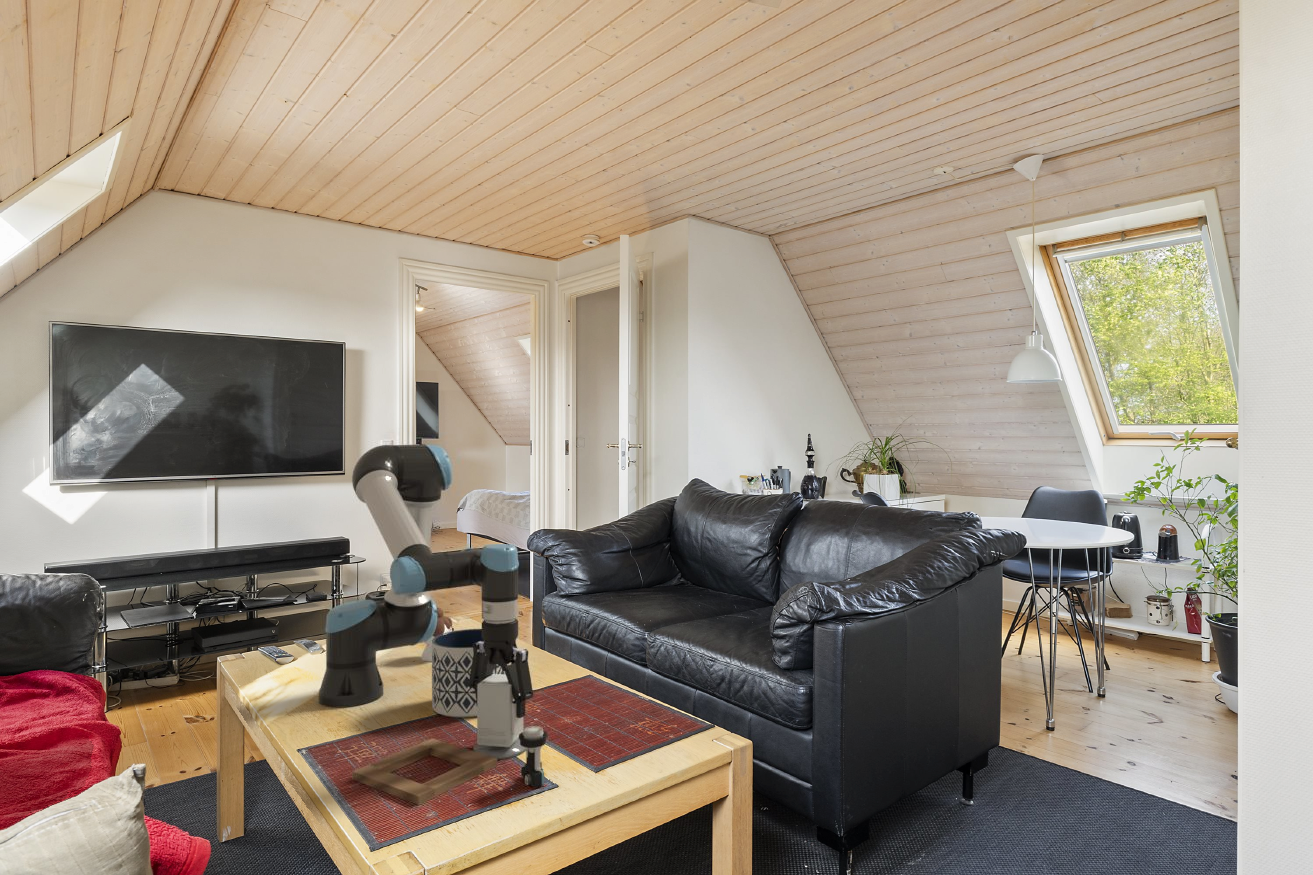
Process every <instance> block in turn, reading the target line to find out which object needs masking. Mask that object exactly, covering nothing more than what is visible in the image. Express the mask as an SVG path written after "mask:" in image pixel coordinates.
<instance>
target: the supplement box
mask: <svg viewBox="0 0 1313 875" xmlns="http://www.w3.org/2000/svg"><path fill="white" fill-rule="evenodd" d="M519 695H520V693H519ZM513 701H515V700H514V697H513V694H512V685H511V684H509V683H508V680H507V677H506V675H505V674H492V675H491V676H489V677H487V678H485V679H484V680H483V681H481V682H480V683H479V684H478V685H477V717H476V719H477V720H476V723H477V724H476V725H477V726H476V727H477V728H476V732H477V733H476V734H477V735H476V736H477V737H476V738H477V739H476V741H477V742H476V744H478V745H487V746H499V747H510V746H511V745H512V743H513V742H514V741H515V740H516V739H517V738H518V737H519V734H520V733H522V732H523V731H522V732H519V733H517V734H515V735H513V734H512V732H511V702H513Z"/></svg>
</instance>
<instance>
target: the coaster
mask: <svg viewBox="0 0 1313 875" xmlns="http://www.w3.org/2000/svg"><path fill="white" fill-rule="evenodd" d="M473 751H475V752H478V753H481V754H484V755H488V756H491V757H494V758H497V761H498V760H499V761H500V760H507V759H511V758H515V757H518V756H521V755H522V754H524V753H526V748H525V747H523V746H521V745H520V740H519V737H518V738H517V739H516V740H515V741H514V742H513V743H512V745H511V746H510V747H499V746H487V745H478V744H477V743H475V745H474V746H473Z"/></svg>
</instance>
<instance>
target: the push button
mask: <svg viewBox="0 0 1313 875" xmlns="http://www.w3.org/2000/svg"><path fill="white" fill-rule="evenodd" d="M548 734H549V733H548V732H547V731H545V730H544V729H543V727H542V726H538V725H536V726H535V725H530V726H527V727H525V728H523V731H522V733H520V734H519V740H520V745H521V746H523V747H525V748H526V751H525V764H524V766H522V767H520V768H519V770H520V771H521V772H520V773H519V775H520V776H522V780H523V782H524V784H525V785H526V786H529V785H530V786H531V788H532V789H537V788H540V787H543V786H544V785H545V772H544V769H543V767H542V766H543V765H542V761H541V748H542V747H543V746H545V745H546V743H547V738H548V736H549V735H548Z"/></svg>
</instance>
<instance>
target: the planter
mask: <svg viewBox="0 0 1313 875" xmlns="http://www.w3.org/2000/svg"><path fill="white" fill-rule="evenodd" d="M480 641H484V640H483V639H482V628H470V629H469V628H467V629H459V630H458V629H457V630H452V632H448V633H444V634H441V635H438V636H437V637H435V638H434V639H433V640H432V662H431V706H432V710H433V711H435V712H436V713H437V714H438V715H441V716H445V717H449V718H464V719H466V718H474V717H475V718H477V705H476V692H475V689H473V688H470V687H469V679H470V672H471V666H472V660H473V654H474V653H473V644H474V643H477V642H480ZM485 656H486V655H485ZM507 665H510V663H509V664H507ZM492 674H505V672H504V671H503V670H502V668H501V666H499V665H497V664H496V666H495V668H494V671H493V673H492ZM505 675H506V674H505ZM475 680H476V679H475Z"/></svg>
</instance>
